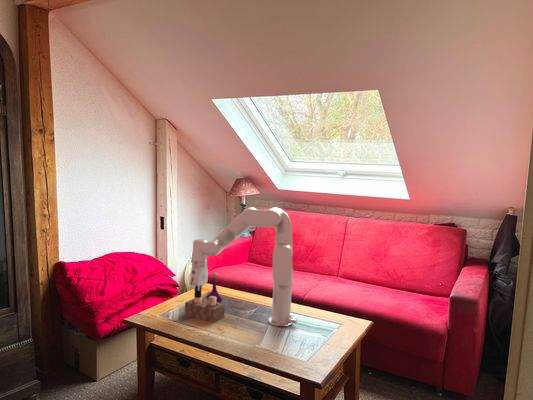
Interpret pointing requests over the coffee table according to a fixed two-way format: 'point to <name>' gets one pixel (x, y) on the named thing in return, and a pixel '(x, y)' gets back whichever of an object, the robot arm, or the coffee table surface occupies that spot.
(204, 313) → the walnut block
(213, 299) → the beech plug
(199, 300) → the terracotta plug
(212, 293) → the perfume bottle
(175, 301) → the coffee table surface
